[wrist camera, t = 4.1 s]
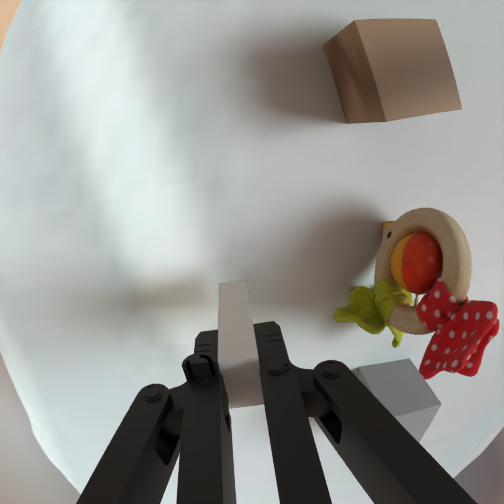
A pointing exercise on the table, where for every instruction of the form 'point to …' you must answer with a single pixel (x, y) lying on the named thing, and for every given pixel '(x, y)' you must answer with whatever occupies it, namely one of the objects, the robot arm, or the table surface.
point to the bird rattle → (422, 282)
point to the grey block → (402, 393)
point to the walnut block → (392, 70)
